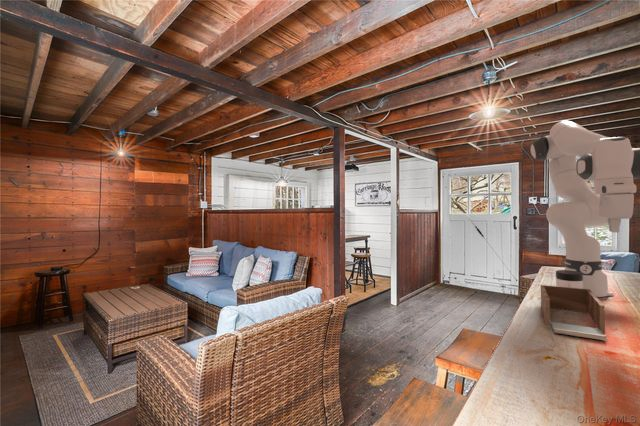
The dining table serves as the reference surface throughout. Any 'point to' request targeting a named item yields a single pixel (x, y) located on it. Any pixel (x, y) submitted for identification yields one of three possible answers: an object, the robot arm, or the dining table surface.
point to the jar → (569, 279)
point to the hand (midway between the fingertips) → (614, 232)
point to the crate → (572, 303)
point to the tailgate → (578, 331)
